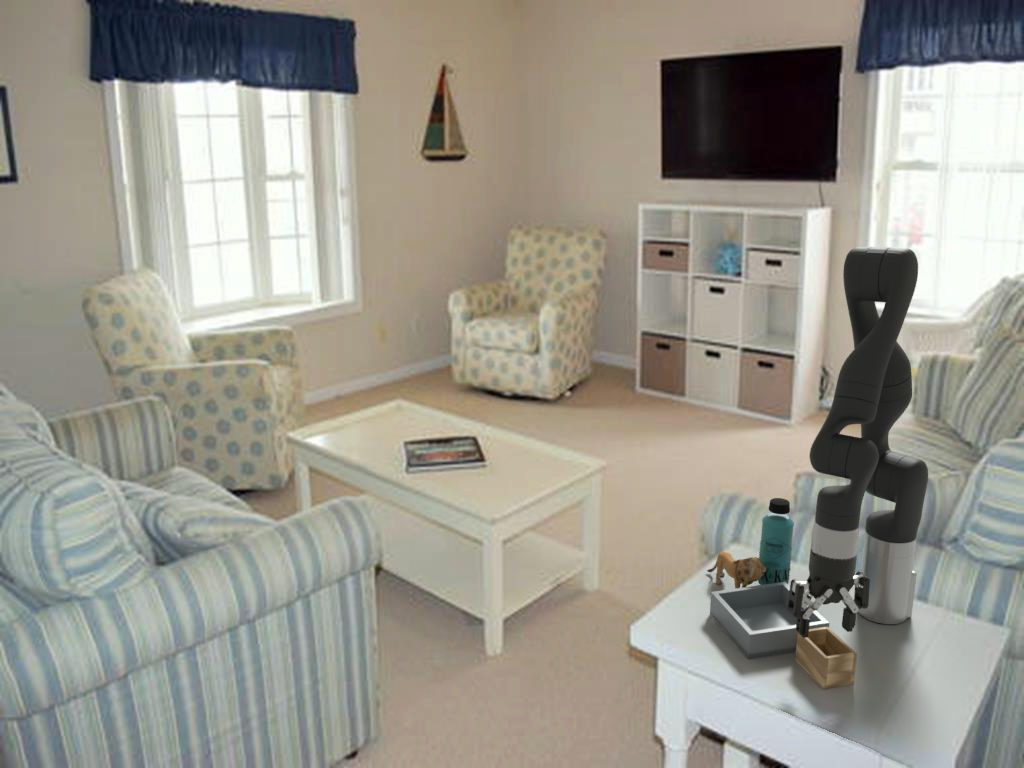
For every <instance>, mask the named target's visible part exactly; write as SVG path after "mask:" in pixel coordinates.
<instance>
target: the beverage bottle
mask: <svg viewBox="0 0 1024 768" xmlns="http://www.w3.org/2000/svg"><path fill="white" fill-rule="evenodd" d="M790 505H791V504H790V501H789V500H788V499H786V498H781V497H774V498H772V499H769V506H768V510H769V513H768V514H766V515H764V516H763V517H762V520H761V522H762V523H761V524H762V525H761V534H760V535H761V536H760V542H759V545H760V546H759V553H758V558H759V560H760V563H761V564H762V565H764V566H766V571H765V572H764V574H763V575H762V576H761V578H760V579H759V580H758V581H757V582H758V585H765V584H772V583H780V582H786V583H787V584H788V585H789V584H790V577H791V574H790V573H791V568H792V567H791V565H792V564H791V563H792V562H791V561H792V558H793V557H792V556H793V555H792V550H793V547H792V546H793V535H794V526H795V522H794V520H793V519H792V518H791V516H789V515H788V514H790V512H791V506H790Z"/></svg>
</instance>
